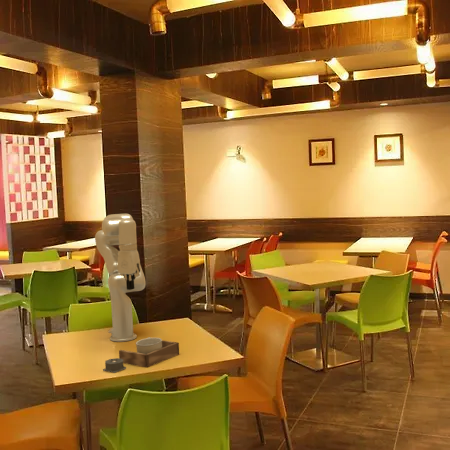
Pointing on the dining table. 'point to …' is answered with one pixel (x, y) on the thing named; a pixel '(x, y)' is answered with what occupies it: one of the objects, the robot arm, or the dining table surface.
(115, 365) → the wheel
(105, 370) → the axle mount
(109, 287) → the robot arm
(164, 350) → the bay
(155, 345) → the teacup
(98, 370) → the dining table surface
